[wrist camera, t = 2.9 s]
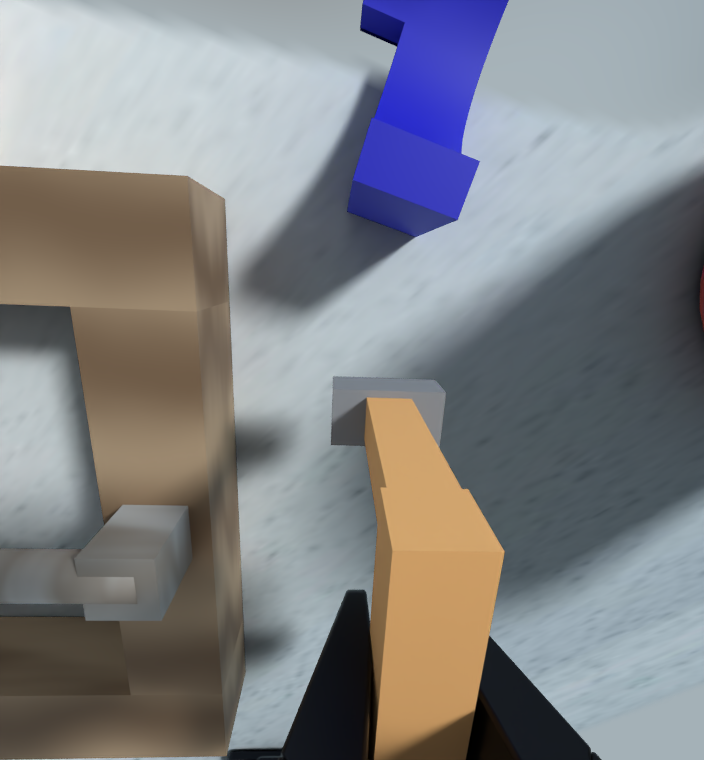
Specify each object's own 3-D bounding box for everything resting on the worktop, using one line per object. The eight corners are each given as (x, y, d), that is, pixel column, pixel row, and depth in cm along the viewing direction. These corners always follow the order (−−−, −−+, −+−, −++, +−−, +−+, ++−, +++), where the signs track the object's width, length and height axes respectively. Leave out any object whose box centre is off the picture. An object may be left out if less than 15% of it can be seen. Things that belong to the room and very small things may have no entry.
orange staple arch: (398, 710, 15) (446, 1050, 9) (322, 710, 15) (311, 1057, 8) (435, 380, 11) (570, 538, 5) (333, 376, 11) (327, 536, 5)
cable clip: (419, -179, 13) (488, -549, 7) (540, -115, 13) (698, -411, 7) (311, 199, 16) (297, 158, 10) (414, 237, 16) (457, 219, 10)
